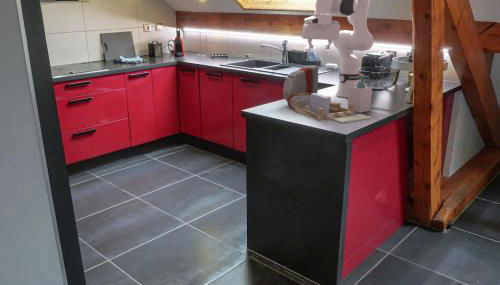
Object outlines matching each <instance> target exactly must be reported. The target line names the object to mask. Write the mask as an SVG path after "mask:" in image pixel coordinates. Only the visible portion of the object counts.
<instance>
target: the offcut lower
mask: <svg viewBox="0 0 500 285" xmlns="http://www.w3.org/2000/svg"><path fill="white" fill-rule="evenodd" d="M338 112H343V109H338V110H334V109H330V108H329V114H331V113H338Z"/></svg>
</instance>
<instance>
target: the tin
mask: <svg viewBox="0 0 500 285" xmlns="http://www.w3.org/2000/svg"><path fill="white" fill-rule="evenodd" d="M310 98H311V94H310V93H293V94H291V95H290V96H289V97H288V100H287V101H286V103H287V105H288V107H289V108H292V109H294V110H295V100H300V101H301V102H300V106H306V105H310Z"/></svg>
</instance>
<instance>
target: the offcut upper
mask: <svg viewBox="0 0 500 285" xmlns="http://www.w3.org/2000/svg"><path fill="white" fill-rule="evenodd" d="M341 107H342V103H341V102H338V101H333V100H331V101H330V106H329V108H330V109H334V110H338V109H341Z"/></svg>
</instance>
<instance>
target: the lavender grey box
mask: <svg viewBox="0 0 500 285" xmlns="http://www.w3.org/2000/svg"><path fill="white" fill-rule="evenodd" d="M327 96H328V95H327ZM327 96H326V95H324V94H323V95H322V94H320V93H311V98H310V110H309V111H311V112H314V113H316V114H317V113H318V108H323V109H324V110H323V115H324V114H330V113H329V106H330V97H331V96H330V97H327Z"/></svg>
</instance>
